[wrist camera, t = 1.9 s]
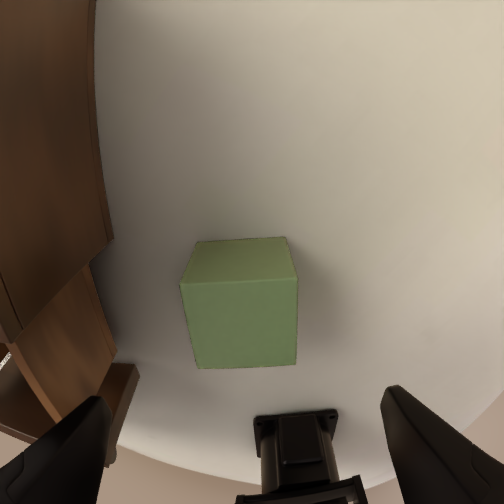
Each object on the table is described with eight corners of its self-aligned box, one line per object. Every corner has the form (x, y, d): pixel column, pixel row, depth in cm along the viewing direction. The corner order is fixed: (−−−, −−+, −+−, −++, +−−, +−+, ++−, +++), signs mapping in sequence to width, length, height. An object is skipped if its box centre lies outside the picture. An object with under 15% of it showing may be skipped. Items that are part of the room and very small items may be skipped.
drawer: (157, 414, 19) (137, 497, 13) (44, 396, 20) (12, 455, 13) (82, 162, 12) (-27, 202, 6) (-37, 198, 13) (-112, 237, 6)
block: (286, 310, 17) (296, 365, 13) (207, 314, 17) (197, 369, 13) (285, 236, 15) (298, 277, 11) (196, 241, 15) (178, 284, 11)
